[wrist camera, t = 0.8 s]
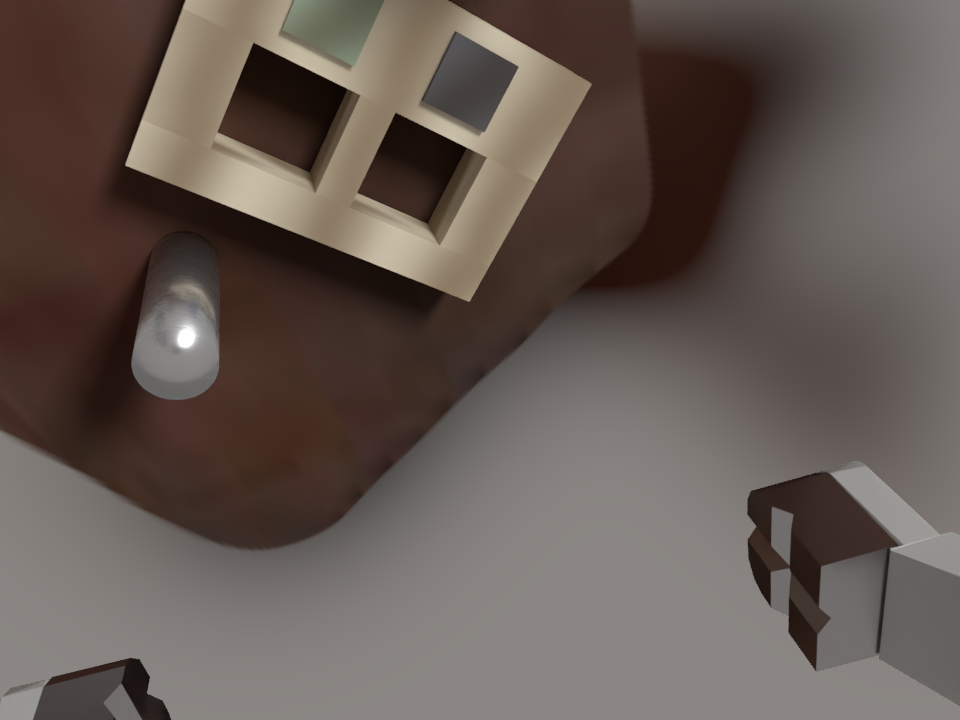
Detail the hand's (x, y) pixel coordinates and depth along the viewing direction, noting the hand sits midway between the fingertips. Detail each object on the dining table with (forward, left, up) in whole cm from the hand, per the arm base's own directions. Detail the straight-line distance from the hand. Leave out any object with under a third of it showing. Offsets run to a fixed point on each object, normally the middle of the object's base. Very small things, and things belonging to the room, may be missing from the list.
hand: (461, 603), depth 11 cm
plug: (-1, -10, -32) cm, 34 cm away
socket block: (+3, 0, -32) cm, 32 cm away
